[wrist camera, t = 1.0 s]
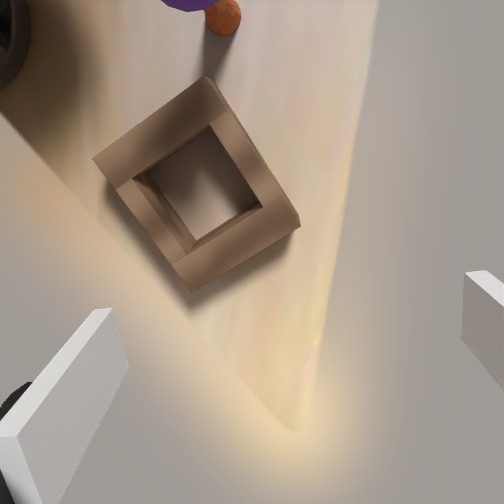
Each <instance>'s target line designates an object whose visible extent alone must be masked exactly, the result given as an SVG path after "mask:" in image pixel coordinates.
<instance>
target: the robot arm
mask: <svg viewBox="0 0 504 504" xmlns="http://www.w3.org/2000/svg"><path fill="white" fill-rule="evenodd" d="M29 35H30V21H29V12H28V7H27V2H26V0H0V89H1V88H3V87H4V86H5V85H7V84H8V83H9V82H10V81H11V80H12V79H13V77H14V76H15V75H16V73H17V72H18V70H19V69H20V67H21V65H22V63H23V61H24V58H25V55H26V52H27V48H28V43H29ZM461 339H462V340H463V341H464V343H465V344H466V345H467V346H468V347H469V349H470V350H471V351H472V352H473V354H474V355H475V356H476V357H477V358H478V360H479V361H480V362H481V363H482V365H483V366H484V367H485V368H486V369H487V371H488V372H489V373H490V374H491V376H492V377H493V378H494V379H495V380H496V382H497V383H498V384H499V385H500V387H501V388H502V389H503V390H504V284H503V283H502V282H501V281H499V280H498V279H496V278H495V277H494V276H493V275H491V274H490V273H489V272H488V271H475V272H466V273H464V290H463V315H462V338H461ZM128 369H129V366H128V362H127V358H126V355H125V351H124V347H123V344H122V339H121V336H120V332H119V328H118V324H117V321H116V317H115V312H114V309H113V308H106V309H95V310H93V312H92V313H91V314H90V315H89V316H88V317H87V319H86V320H85V321H84V322H83V323H82V325H81V326H80V327H79V328H78V329H77V331H76V332H75V333H74V334H73V335H72V336H71V338H70V339H69V340H68V341H67V342H66V344H65V345H64V346H63V347H62V349H61V350H60V351H59V352H58V353H57V354H56V355H55V357H54V358H53V359H52V360H51V362H50V363H49V364H48V365H47V366H46V368H45V369H44V370H43V371H42V372H41V373H40V375H39V376H38V377H37V378H36V379H35V381H34V382H27V383H26V384H24V385H23V386H21V387H20V388H19V389H17V390H16V391H14V392H13V393H12V394H11V395H10V396H9V397H8V398H7V399H6V401H5V402H4V403H3V404H2V407H0V504H58V503H59V501H60V499H61V497H62V496H63V494H64V492H65V490H66V488H67V486H68V484H69V482H70V480H71V478H72V476H73V475H74V472H75V471H76V469H77V467H78V465H79V463H80V461H81V459H82V457H83V455H84V454H85V451H86V450H87V448H88V446H89V444H90V442H91V440H92V438H93V436H94V434H95V432H96V430H97V429H98V427H99V425H100V423H101V421H102V419H103V417H104V415H105V413H106V411H107V410H108V408H109V406H110V404H111V402H112V400H113V398H114V396H115V394H116V392H117V390H118V388H119V387H120V385H121V383H122V381H123V379H124V377H125V375H126V373H127V371H128Z"/></svg>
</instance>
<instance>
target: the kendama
mask: <svg viewBox="0 0 504 504" xmlns="http://www.w3.org/2000/svg"><path fill="white" fill-rule="evenodd" d="M162 1H163V2H164V3H165V4H166V5H167V6H169V7H173V8H176V9H179V10H182V11H186V12H191V11H198V10H204V12H205V17H206V21H207V24H208V26H209V28H210V29H211V30H212V31H213V32H214V33H216V34H218V35H222V36H224V35H230V34H231V33H233V32H234V31H235V30H236V29H237V28H238V26H239V24H240V20H241V11H240V8H239V6H238V4H237V2H236V1H235V0H162Z"/></svg>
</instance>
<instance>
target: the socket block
mask: <svg viewBox="0 0 504 504" xmlns="http://www.w3.org/2000/svg"><path fill="white" fill-rule="evenodd" d="M210 127H211V128H212V129H213V131H214V132H215V134H216V135H217V137H218V138H219V140H220V141H221V143H222V144H223V146H224V148H225V149H226V151H227V152H228V154H229V155H230V157H231V158H232V160H233V161H234V163H235V164H236V166H237V167H238V169H239V170H240V172H241V174H242V175H243V177H244V178H245V180H246V181H247V183H248V184H249V186H250V187H251V189H252V190H253V192H254V193H255V195H256V196H257V198H258V199H259V201H258V202H256V203H255V204H253V205H252V206H250V207H248V208H247V209H245V210H244V211H242V212H241V213H239V214H237V215H236V216H234V217H233V218H231V219H230V220H228V221H226V222H225V223H223V224H222V225H220V226H219V227H217V228H215V229H214V230H212V231H211V232H209V233H208V234H206V235H204V236H203V237H201V238H200V239H198V240H197V241H196V240H195V238H194V237H193V235H192V234H191V233H190V231H189V230H188V228H187V227H186V226H185V224H184V223H183V221H182V220H181V219H180V217H179V216H178V214H177V213H176V212H175V210H174V209H173V207H172V206H171V205H170V203H169V202H168V200H167V199H166V198H165V196H164V195H163V193H162V192H161V191H160V189H159V188H158V186H157V185H156V184H155V182H154V181H153V179H152V178H151V177H150V175H149V174H148V172H147V171H148V170H150V169H151V168H153V167H154V166H156V165H157V164H158V163H160V162H161V161H163V160H164V159H166V158H167V157H168V156H170V155H171V154H173V153H174V152H176V151H177V150H178V149H180V148H181V147H183V146H184V145H186V144H187V143H188V142H190V141H191V140H193V139H194V138H195V137H197V136H198V135H200V134H201V133H203V132H204V131H205V130H207V129H208V128H210ZM92 160H93V161H94V162H95V164H96V165H97V166H98V168H99V169H100V170H101V172H102V173H103V174H104V176H105V177H106V178H107V180H108V181H109V182H110V184H111V185H112V186H113V188H114V189H115V190H116V192H117V193H118V194H119V196H120V197H121V198H122V200H123V201H124V203H125V204H126V205H127V207H128V208H129V209H130V211H131V212H132V213H133V215H134V216H135V217H136V219H137V220H138V221H139V223H140V224H141V225H142V227H143V228H144V229H145V231H146V232H147V233H148V235H149V236H150V237H151V239H152V240H153V241H154V243H155V244H156V246H157V247H158V248H159V250H160V251H161V252H162V254H163V255H164V256H165V258H166V259H167V260H168V262H169V263H170V264H171V266H172V267H173V268H174V270H175V271H176V272H177V274H178V275H179V276H180V278H181V279H182V280H183V282H184V283H185V284H186V286H187V287H188V288H189V290H190V291H191V293H192V292H193V291H195V290H197V289H198V288H200V287H201V286H203V285H205V284H206V283H208V282H210V281H211V280H213V279H215V278H216V277H218V276H220V275H221V274H223V273H225V272H226V271H228V270H230V269H231V268H233V267H235V266H236V265H238V264H239V263H241V262H243V261H244V260H246V259H248V258H249V257H251V256H253V255H254V254H256V253H258V252H259V251H261V250H263V249H264V248H266V247H268V246H269V245H271V244H273V243H274V242H276V241H277V240H279V239H281V238H282V237H284V236H286V235H287V234H289V233H291V232H292V231H294V230H296V229H297V228H299V227H301V224H300V220H299V215H298V213H297V212H296V210H295V208H294V207H293V205H292V204H291V202H290V200H289V199H288V197H287V196H286V194H285V193H284V191H283V189H282V188H281V186H280V185H279V183H278V182H277V180H276V178H275V177H274V175H273V174H272V172H271V171H270V169H269V167H268V166H267V164H266V163H265V161H264V159H263V158H262V156H261V155H260V153H259V152H258V150H257V148H256V147H255V145H254V144H253V142H252V141H251V139H250V137H249V136H248V134H247V133H246V131H245V130H244V128H243V126H242V125H241V123H240V122H239V120H238V118H237V117H236V115H235V114H234V112H233V111H232V109H231V107H230V106H229V104H228V103H227V101H226V100H225V98H224V96H223V95H222V93H221V92H220V90H219V89H218V87H217V85H216V84H215V82H214V81H213V80H212V79H211V78H209V77H207V76H203V77H202V78H201V79H199V80H198V81H196V82H195V83H194V84H192V85H191V86H190V87H188V88H187V89H186V90H184V91H183V92H182V93H180V94H179V95H177V96H176V97H175V98H173V99H172V100H171V101H169V102H168V103H167V104H165V105H164V106H163V107H161V108H160V109H158V110H157V111H156V112H154V113H153V114H152V115H150V116H149V117H148V118H146V119H145V120H144V121H142V122H141V123H139V124H138V125H137V126H135V127H134V128H133V129H131V130H130V131H129V132H127V133H126V134H125V135H123V136H122V137H120V138H119V139H118V140H116V141H115V142H114V143H112V144H111V145H110V146H108V147H107V148H106V149H104V150H103V151H101V152H100V153H99V154H97V155H96V156H95V157H93V158H92Z"/></svg>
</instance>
